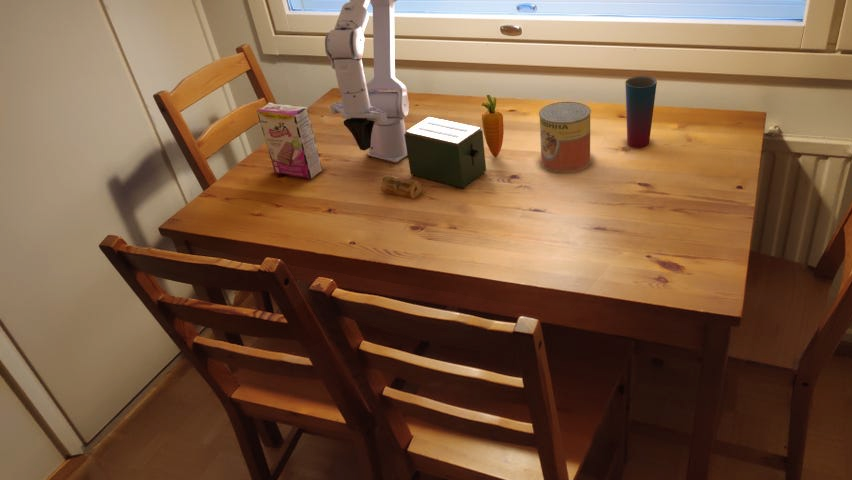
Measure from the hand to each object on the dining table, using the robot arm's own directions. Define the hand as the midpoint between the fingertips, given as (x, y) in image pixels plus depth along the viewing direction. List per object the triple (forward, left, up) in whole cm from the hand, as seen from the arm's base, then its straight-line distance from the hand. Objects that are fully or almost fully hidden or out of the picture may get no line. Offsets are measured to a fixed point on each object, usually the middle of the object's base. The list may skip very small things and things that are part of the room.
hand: (365, 148), depth 150 cm
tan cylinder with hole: (+9, 0, -10) cm, 13 cm away
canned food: (+34, +29, -10) cm, 45 cm away
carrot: (+18, +24, -10) cm, 31 cm away
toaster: (+13, +12, -9) cm, 20 cm away
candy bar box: (-21, -3, -10) cm, 24 cm away
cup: (+45, +44, -10) cm, 63 cm away
